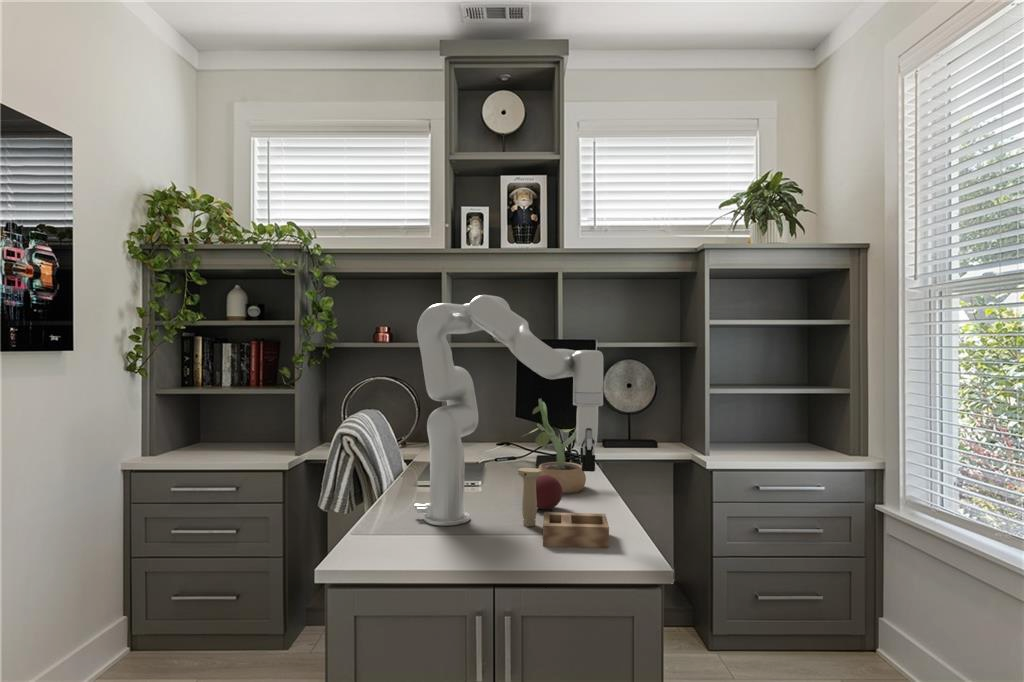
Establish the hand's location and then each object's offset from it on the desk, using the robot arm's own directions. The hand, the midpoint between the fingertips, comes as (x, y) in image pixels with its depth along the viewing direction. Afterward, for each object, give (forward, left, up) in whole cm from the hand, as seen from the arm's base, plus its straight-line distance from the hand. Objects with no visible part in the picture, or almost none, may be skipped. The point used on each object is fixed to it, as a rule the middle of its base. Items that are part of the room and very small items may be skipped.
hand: (587, 467), depth 163 cm
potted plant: (-9, +55, -19) cm, 59 cm away
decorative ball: (-11, +28, -18) cm, 35 cm away
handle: (-15, +11, -18) cm, 26 cm away
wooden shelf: (-3, 0, -18) cm, 19 cm away
